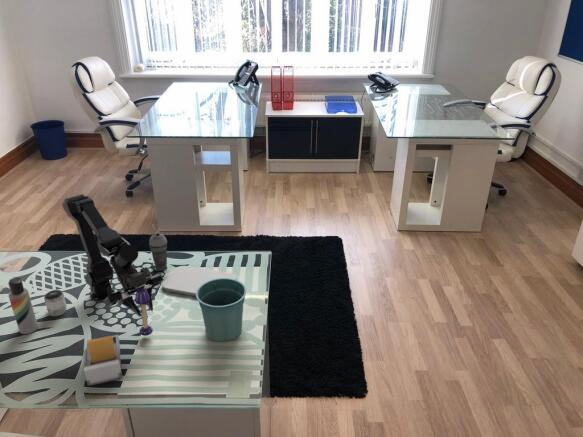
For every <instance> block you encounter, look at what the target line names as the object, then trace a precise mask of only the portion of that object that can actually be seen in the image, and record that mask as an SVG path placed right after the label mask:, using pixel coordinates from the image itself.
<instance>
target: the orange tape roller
mask: <svg viewBox="0 0 583 437" xmlns="http://www.w3.org/2000/svg"><path fill="white" fill-rule="evenodd" d="M112 338H113V343H114V348H115V353H116V358H113V359H108V360H104V361H99V362H95V363H91V359H90V354H89V350H88V346H87V345H86V366H84V367H83V372H84V378H85V380H86V386H87V387H91V386H95V385H99V384H103V383H107V382H108V383H109V382H111V381H115V379H116V380H119V379H118V378H120V379H123V374H122V360H121V358H120V357H121V347H120V338H119V334H115V335H112Z"/></svg>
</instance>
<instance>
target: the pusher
mask: <svg viewBox="0 0 583 437" xmlns="http://www.w3.org/2000/svg"><path fill="white" fill-rule="evenodd" d="M112 336H113V335H107V336H103V337H97V338H93V339H88V340H86V347H87V346H88V350H89V354H90V359H91V363H95V362H99V361H104V360H108V359H113V358H116V353H115V348H114V343H113V338H112Z"/></svg>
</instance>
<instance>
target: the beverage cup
mask: <svg viewBox="0 0 583 437" xmlns="http://www.w3.org/2000/svg"><path fill="white" fill-rule="evenodd" d="M151 225H152V229H153V232H154V233H153V234H152V235H151V236H150V238H149V241H148V242H149V243H148V246H149V249H150V252H151V255H152V259H153V264H154V267H155V269H156V270H157V271H164V270H166V269H167V268H168V258H167V257H168V254H167V252H168V251H167V248H168V240H167V238H166V236H165V235H164V234H162V233H157V232H156V229H155V225H154V224H151Z"/></svg>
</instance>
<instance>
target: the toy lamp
mask: <svg viewBox="0 0 583 437" xmlns="http://www.w3.org/2000/svg"><path fill="white" fill-rule="evenodd" d="M135 293H136V294H135V297H134V303H135V304H136V305H139V306H140V313H141V323H142V326H141V327H140V329H139V335H141V336H144V337H146V336H147V337H148V336H149V335H151V334H152V333H153V331H154V330H153V328H152V326H150V325H149V324H148V323H149V321H148V313H147V311H148V310H147V303H148V302H149V301H150V297H149V295H148V292H147V290H146V289H144V288H140V289H138V290H137V292H135Z"/></svg>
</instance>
